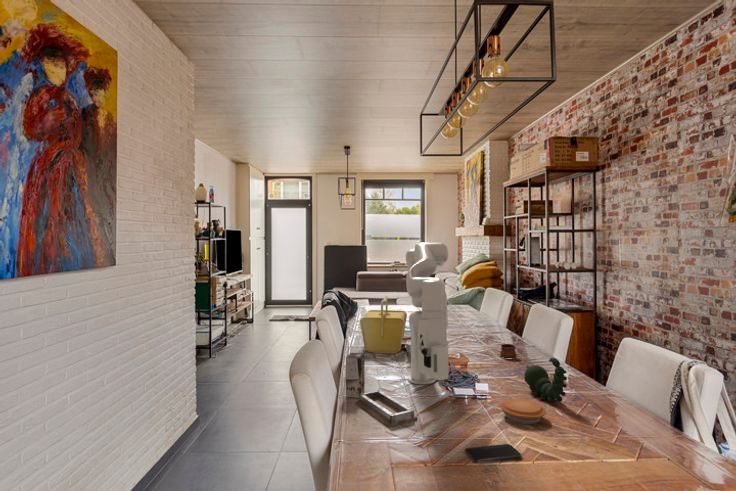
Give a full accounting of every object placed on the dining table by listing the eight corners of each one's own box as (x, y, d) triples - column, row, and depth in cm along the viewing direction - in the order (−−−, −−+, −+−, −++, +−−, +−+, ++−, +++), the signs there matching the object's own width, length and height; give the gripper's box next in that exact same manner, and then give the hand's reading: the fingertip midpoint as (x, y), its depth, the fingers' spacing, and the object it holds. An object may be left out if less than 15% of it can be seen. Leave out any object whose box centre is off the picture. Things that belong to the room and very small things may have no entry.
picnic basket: (366, 341, 268) (366, 294, 268) (407, 342, 265) (407, 295, 265) (359, 353, 239) (359, 300, 239) (404, 354, 236) (404, 301, 236)
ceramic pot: (529, 356, 231) (529, 344, 231) (519, 364, 217) (519, 351, 217) (497, 352, 242) (497, 340, 242) (486, 359, 228) (485, 346, 228)
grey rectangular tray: (382, 398, 169) (382, 389, 169) (417, 419, 148) (417, 409, 148) (355, 403, 164) (355, 394, 164) (388, 427, 143) (388, 416, 143)
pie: (490, 413, 154) (490, 399, 154) (523, 406, 160) (523, 393, 160) (521, 430, 140) (521, 415, 140) (555, 422, 146) (555, 408, 146)
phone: (523, 456, 121) (474, 461, 119) (523, 460, 121) (474, 465, 119) (509, 443, 129) (463, 447, 126) (509, 447, 129) (463, 451, 126)
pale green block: (426, 369, 156) (426, 339, 156) (448, 378, 145) (448, 346, 145) (417, 371, 153) (417, 341, 153) (438, 380, 143) (438, 348, 143)
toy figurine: (571, 410, 160) (535, 383, 185) (574, 362, 158) (537, 341, 183) (549, 412, 159) (515, 384, 183) (551, 364, 157) (517, 342, 182)
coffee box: (360, 398, 170) (360, 358, 170) (345, 397, 171) (345, 357, 171) (365, 390, 179) (365, 352, 178) (350, 389, 180) (350, 351, 180)
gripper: (443, 311, 157) (443, 359, 157) (407, 315, 148) (407, 366, 148) (457, 314, 150) (457, 364, 150) (420, 318, 142) (420, 372, 142)
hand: (432, 365), depth 149 cm, fingers closed on pale green block, 4 cm apart
